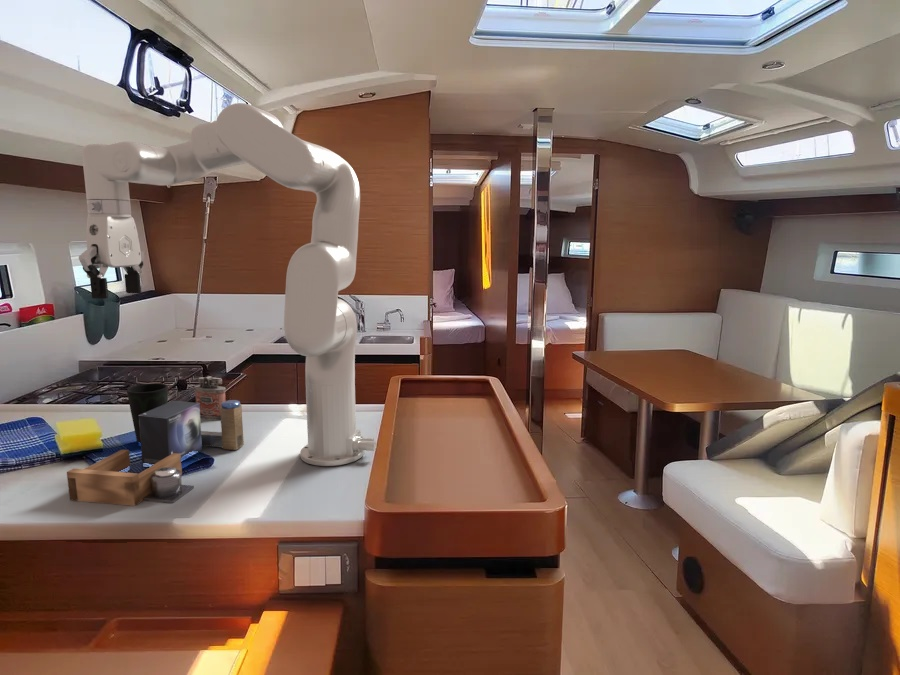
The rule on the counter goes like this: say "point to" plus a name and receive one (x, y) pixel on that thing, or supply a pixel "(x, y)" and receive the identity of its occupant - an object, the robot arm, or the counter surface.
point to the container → (227, 428)
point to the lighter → (210, 397)
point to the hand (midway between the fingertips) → (117, 295)
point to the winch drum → (167, 486)
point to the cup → (145, 401)
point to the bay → (115, 480)
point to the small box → (170, 431)
